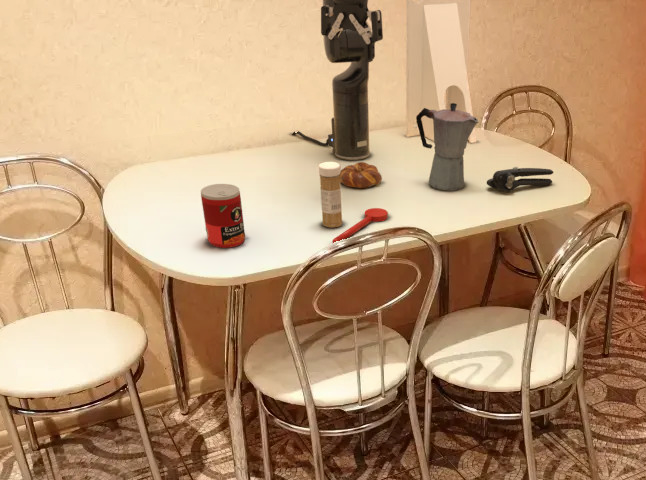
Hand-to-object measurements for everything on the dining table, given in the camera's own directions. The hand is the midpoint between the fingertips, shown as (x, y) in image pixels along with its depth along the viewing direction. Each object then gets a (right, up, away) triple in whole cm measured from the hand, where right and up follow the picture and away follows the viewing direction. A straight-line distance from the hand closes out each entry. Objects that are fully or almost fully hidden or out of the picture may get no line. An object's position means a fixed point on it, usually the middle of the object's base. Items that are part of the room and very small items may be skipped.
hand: (352, 59), depth 172 cm
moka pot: (+21, -23, +22) cm, 38 cm away
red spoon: (+2, -38, -3) cm, 38 cm away
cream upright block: (+22, 0, +54) cm, 59 cm away
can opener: (+40, -23, +21) cm, 51 cm away
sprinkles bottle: (-4, -37, -1) cm, 37 cm away
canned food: (-25, -42, -9) cm, 50 cm away
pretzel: (0, -21, +22) cm, 31 cm away
